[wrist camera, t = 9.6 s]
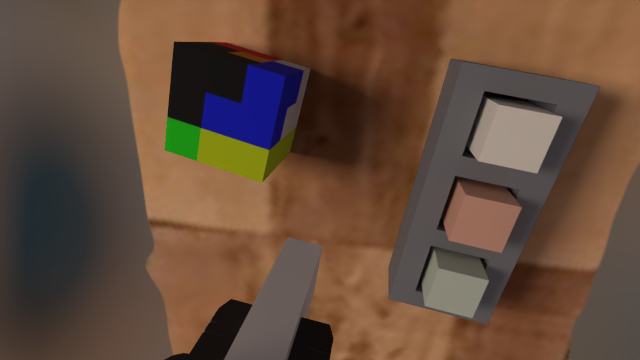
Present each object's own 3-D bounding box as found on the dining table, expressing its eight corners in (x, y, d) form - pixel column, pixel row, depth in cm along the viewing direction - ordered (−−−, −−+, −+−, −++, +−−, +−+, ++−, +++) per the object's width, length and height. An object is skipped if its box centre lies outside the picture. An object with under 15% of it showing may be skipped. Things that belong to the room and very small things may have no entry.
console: (450, 58, 34) (462, 61, 29) (565, 79, 33) (600, 86, 28) (388, 267, 45) (388, 298, 39) (474, 288, 43) (487, 324, 38)
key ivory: (476, 92, 34) (499, 104, 27) (526, 101, 33) (562, 116, 26) (460, 138, 36) (478, 161, 29) (508, 148, 35) (537, 173, 28)
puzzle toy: (310, 68, 37) (285, 76, 28) (290, 152, 41) (262, 182, 32) (225, 42, 38) (174, 41, 29) (213, 127, 42) (164, 150, 33)
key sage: (430, 230, 40) (438, 268, 33) (471, 239, 40) (489, 280, 33) (418, 263, 42) (424, 305, 35) (458, 273, 41) (472, 318, 35)
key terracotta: (451, 167, 37) (465, 194, 30) (497, 176, 36) (521, 207, 30) (438, 206, 39) (448, 240, 32) (481, 215, 38) (501, 253, 31)
